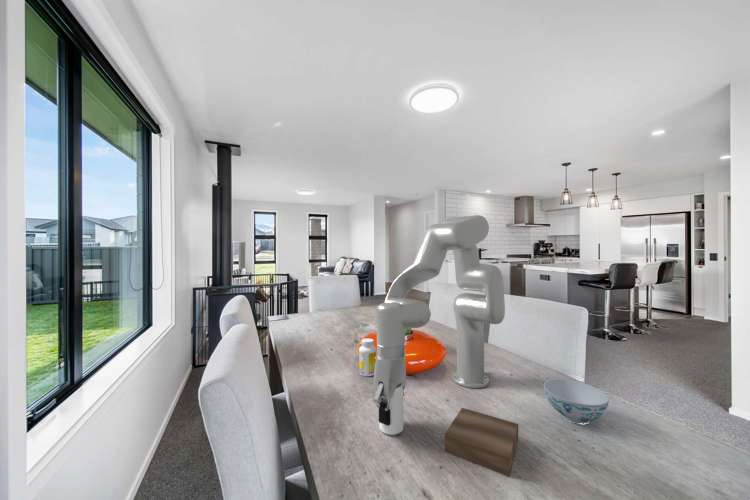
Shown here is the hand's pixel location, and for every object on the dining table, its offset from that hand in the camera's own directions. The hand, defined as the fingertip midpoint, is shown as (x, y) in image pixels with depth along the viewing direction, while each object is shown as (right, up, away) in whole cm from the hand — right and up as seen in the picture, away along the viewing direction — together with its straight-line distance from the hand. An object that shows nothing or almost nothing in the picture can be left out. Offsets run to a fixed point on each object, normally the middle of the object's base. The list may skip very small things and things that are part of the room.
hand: (391, 416), depth 77 cm
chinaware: (+52, -3, +4) cm, 52 cm away
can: (0, -3, 0) cm, 3 cm away
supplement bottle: (-7, -4, +35) cm, 36 cm away
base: (+22, -3, -7) cm, 23 cm away
